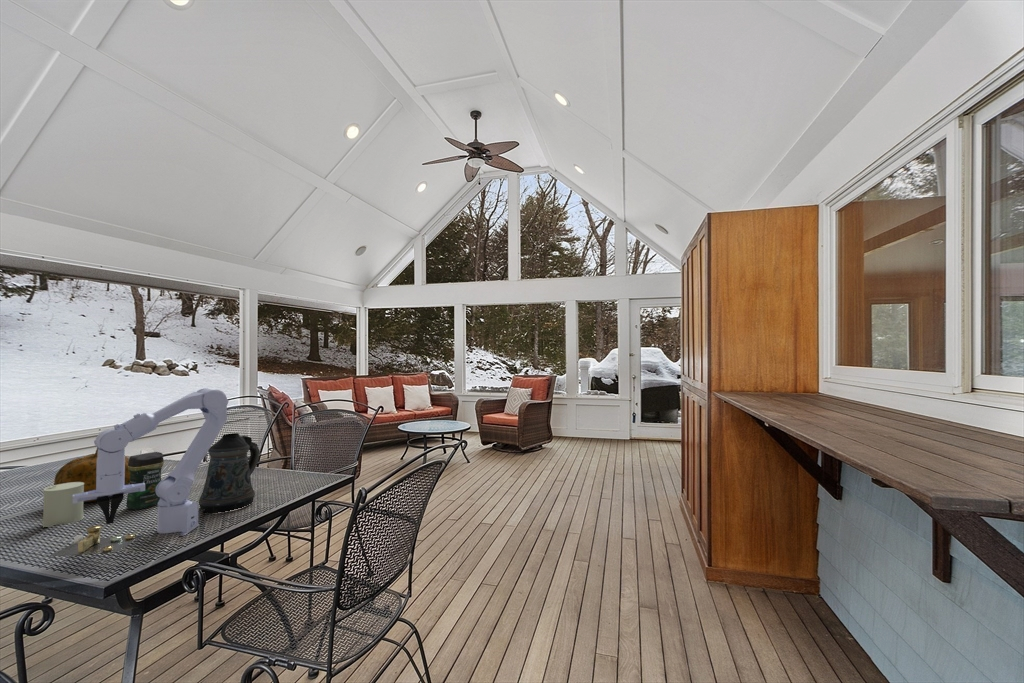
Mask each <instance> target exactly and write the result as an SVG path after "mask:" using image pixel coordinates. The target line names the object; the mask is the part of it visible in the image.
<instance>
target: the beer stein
mask: <svg viewBox="0 0 1024 683" xmlns="http://www.w3.org/2000/svg"><path fill="white" fill-rule="evenodd" d="M252 440H253V439H252V437H250V436H248V435H247V436H246V435H240V434H239V433H238V432H234V433H227V434H222V437H221V438H220V439H219V440H218V441H217V442H215V443H213V444H212V445H211V447H210V448H209V450H208V452H207V453H208V455H209V463H208V469H207V473H206V476H205V477H206V479H205V481H204V485H203V486H204V487H203V489H202V492H201V495H200V496H199V499H198V506H199V510H201V511H202V510H203V511H202V513H203V512H204V513H203V514H205V513H218V512H225V511H230V510H234V509H238V508H242V507H244V506H247V505H249V504H251V503H252V502H254V499H255V495H256V492H255V490H254V487H253V484H252V479H251V476H252V474H253V472H254V470H255V469H256V467H257V465H258V464H259V463H258V462H259V460H260V449H259V446H258V444H257V443H256V442H253V441H252ZM248 452H250V454H249V458H248ZM252 504H253V503H252ZM252 504H251V505H252ZM249 506H250V505H249ZM247 507H248V506H247Z"/></svg>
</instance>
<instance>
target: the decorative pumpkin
mask: <svg viewBox="0 0 1024 683" xmlns="http://www.w3.org/2000/svg"><path fill="white" fill-rule="evenodd" d="M98 449H99V448H98V447H96V450H95V453H92V454H88V455H86V456H83V457H77V458H74V459H71V460H70V461H68V462H67V463H65V464H64V465H63V466H61V467H60V468H59V470H58V471H57V472H56V474H55V476H54V481H53V485H58V484H63V483H70V482H83V483H84V492H89V491H93V490H96V471H97V457H98V455H97V452H98ZM128 462H129V457H128V456H126V455H125V481H124V485H129V483H130V472H129V470H128ZM93 502H96V503H97V499H93V500H87V501H83V504H85V503H93Z"/></svg>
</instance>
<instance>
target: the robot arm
mask: <svg viewBox="0 0 1024 683" xmlns="http://www.w3.org/2000/svg"><path fill="white" fill-rule="evenodd" d="M229 403H230V402H229V399H228V398H227V396H226V394H225V393H224V391H222V390H220V389H211V388H208V387H207V388H205V387H204V388H200V389H199V390H197V391H193V392H191V393H188V394H187V395H185V396H183V397H181V398H179V399H178V400H176V401H173V402H172V403H170V404H168V405H166V406H164V407H162V408H160V409H158V410H157V411H155V412H153V413H147V412H143V413H141V414H140V413H136V414H134V415H133V417H132V418H130V419H129V420H126V421H125V422H122V423H120V424H118V423H116V424H114V425H113V427H114V428H110V429H104V430H103V431H101V432H99V433H98V435H97V436H96V438H95V440H93V442H94V445H95V447H96V448H97V447H98V448H99V449H98V452H97V455H98V457H97V471H96V490H93V491H89V492H84V493H80V494H74V495H73V504H74V503H78V502H81V501H87V500H93V499H97V502H96V503H97V505H98V506H99V507H100V509H101V511H102V513H103V515H104V517H105V525H110V524H113V523H114V520H115V518H116V513H117V511H118V509H119V507H120V505H121V504H122V502H123V501H124V500H123V499H124V497H125V496H124V495H125V494H127V495H128V493H132V492H138V491H140V492H141V491H145V483H140V484H131V485H124V481H125V456H126V455H125V448H126V447H127V446H128V445H129V443H131V442H134V441H136V440H138V439H140V438H142V437H144V436H146V435H147V434H149V433H151V432H153V431H155V430H156V429H157V428H158V426H159V423H162V422H163V421H166V420H169V419H170V418H173V417H174V416H177V415H179V414H181V413H184V412H185V411H187V410H197V409H198V410H200V411H201V413H202V415H203V417H204V420H205V421H204V422H203V424H202V425H201V427H200V429H199V430H198V431H197V433H196V435H195V437H194V438H193V439H192V441H191V442H190V444H189V446H188V448H187V449H186V451H185V452H184V454H183V455H182V457H181V459H180V460H179V462H178V463H177V465H176V466H175V468H173V469H172V470H170V472H168V474H167V475H166V476H165V478H163V479H161V482H159V484H158V485H157V487H156V495H157V496H158V497H160V500H159V502H158V505H157V516H156V517H157V518H156V524H157V526H156V532H157V533H158V534H169V533H177V532H179V534H178V535H177V537H183V536H186V535H187V534H189V533H190V532H192V531H193V530H195V529H196V528H198V527H199V526H200V523H199V503H198V501H191V500H189V496H190V495H191V492H192V490H191V489H192V486H193V484H194V482H195V473H196V472H197V470H198V468H199V467H200V465H201V463H202V462H203V460H204V458H205V456H206V455H207V454H208V453H209V452H208V450H209V448H210V447H211V446H213V445H214V442H215V441H216V438H217V437H218V435H219V434H220V432H221V431H222V429H223V427H224V425H225V424H226V423H227V419H228V405H229ZM197 526H198V527H197Z"/></svg>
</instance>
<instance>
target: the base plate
mask: <svg viewBox="0 0 1024 683" xmlns="http://www.w3.org/2000/svg"><path fill="white" fill-rule="evenodd" d="M144 536H145V534H144V535H143V534H142V535H136V534H135V533H131V534H130V533H129V534H128V535H126V536H125V535H114V536H110V537H109V536H107V537H100V542H99V543H97V544H94V545H92V546H91V547H90V548H88V549H87V550H85V551H84V552H80V553H78V542H80V541H81V540H83V539H84V536H83V534H77V535H75V536H74V537H73V543H71V544H69V545H67V546H65V547H64V548H61V549H60V550H58V551H56V552H54V553H52V554H49V555H47V557H48V558H49V557H65V556H77V555H78V556H80V555H81V556H82V555H93V554H107V553H108V554H110V553H111V554H112V553H117V552H119V551H121V550H122V549H124V548H125V547H128V546H129V545H131V544H132V543H134V542H136V541H137V540H139V539H140V538H143V537H144Z"/></svg>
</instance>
